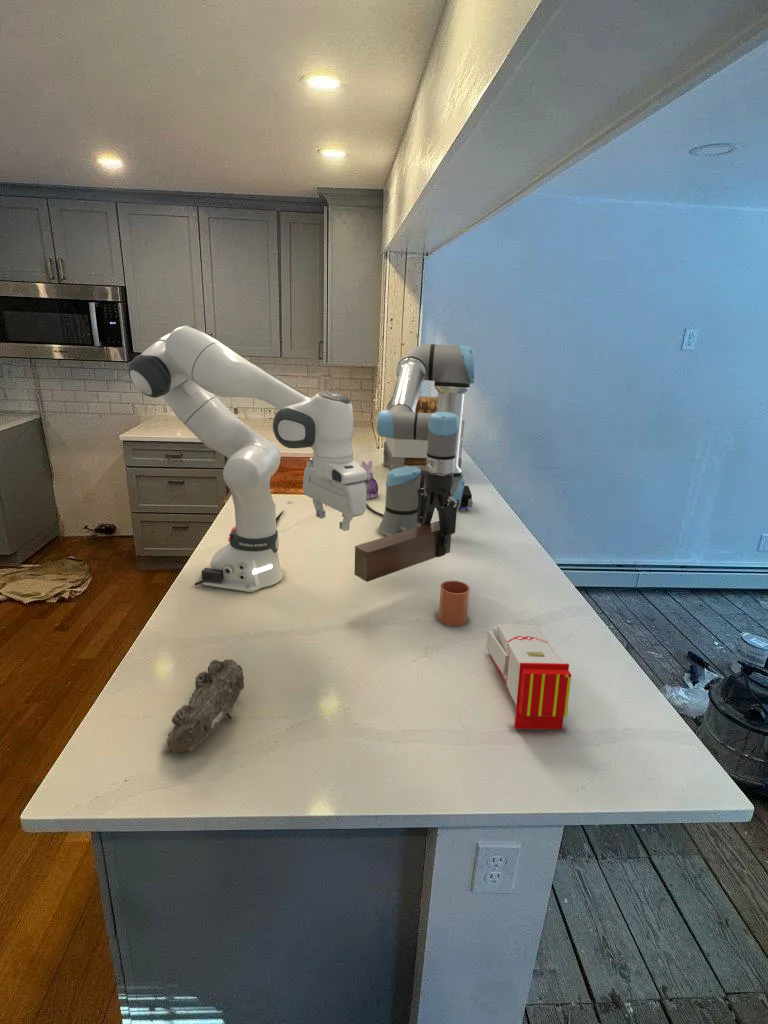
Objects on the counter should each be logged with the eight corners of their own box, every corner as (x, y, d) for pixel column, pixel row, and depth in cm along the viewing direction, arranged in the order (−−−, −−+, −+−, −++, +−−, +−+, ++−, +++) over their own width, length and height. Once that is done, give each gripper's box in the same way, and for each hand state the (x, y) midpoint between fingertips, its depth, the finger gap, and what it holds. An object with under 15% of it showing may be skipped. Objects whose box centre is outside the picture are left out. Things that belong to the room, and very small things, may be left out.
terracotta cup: (432, 616, 147) (434, 585, 144) (451, 608, 152) (454, 578, 149) (453, 629, 142) (456, 597, 139) (472, 619, 146) (476, 588, 143)
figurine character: (472, 516, 224) (466, 500, 237) (474, 499, 220) (469, 483, 234) (455, 515, 224) (451, 499, 237) (457, 498, 220) (452, 483, 234)
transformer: (382, 463, 289) (386, 382, 275) (445, 464, 293) (451, 384, 279) (390, 482, 257) (394, 392, 243) (460, 483, 261) (468, 394, 247)
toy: (533, 609, 133) (580, 670, 104) (528, 661, 136) (573, 736, 107) (482, 608, 133) (514, 669, 103) (478, 661, 135) (509, 735, 106)
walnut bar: (354, 574, 144) (354, 545, 141) (437, 546, 162) (439, 520, 160) (366, 582, 140) (367, 552, 137) (449, 552, 159) (452, 526, 156)
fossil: (192, 660, 117) (244, 628, 112) (224, 691, 120) (276, 661, 115) (142, 746, 98) (202, 712, 93) (182, 779, 101) (242, 748, 96)
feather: (290, 505, 227) (293, 501, 226) (273, 528, 200) (276, 524, 200) (286, 502, 226) (289, 498, 226) (269, 525, 200) (272, 521, 199)
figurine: (363, 500, 232) (364, 465, 227) (352, 493, 240) (353, 459, 235) (383, 498, 236) (385, 463, 231) (372, 491, 244) (373, 457, 239)
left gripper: (296, 457, 133) (296, 513, 137) (348, 479, 118) (347, 540, 123) (318, 454, 137) (318, 508, 141) (372, 474, 122) (370, 533, 127)
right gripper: (406, 466, 154) (401, 544, 162) (455, 483, 141) (447, 567, 149) (425, 462, 158) (420, 538, 167) (475, 478, 146) (466, 560, 154)
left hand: (332, 523), depth 132 cm, fingers open, 8 cm apart
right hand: (433, 551), depth 158 cm, fingers closed on walnut bar, 5 cm apart
